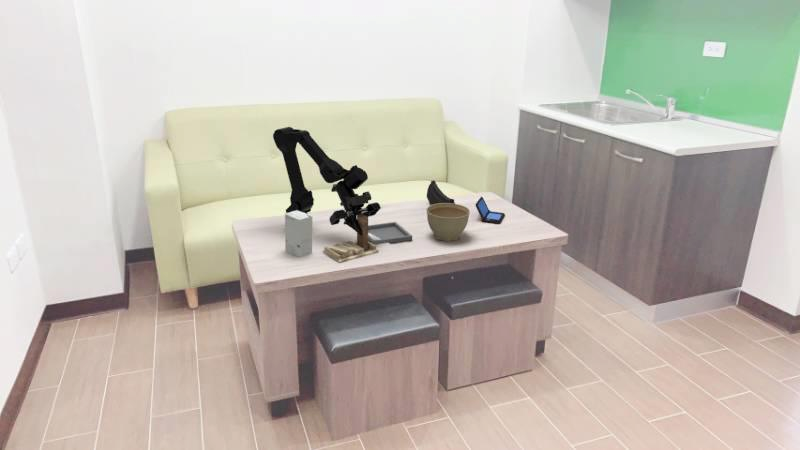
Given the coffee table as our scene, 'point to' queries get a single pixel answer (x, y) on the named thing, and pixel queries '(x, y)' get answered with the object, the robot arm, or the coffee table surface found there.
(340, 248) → the offcut
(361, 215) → the walnut block
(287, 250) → the skincare box
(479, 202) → the handheld game console
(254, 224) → the coffee table surface
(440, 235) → the planter bowl
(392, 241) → the tray
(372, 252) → the offcut rack
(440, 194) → the black curved fin
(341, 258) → the offcut
